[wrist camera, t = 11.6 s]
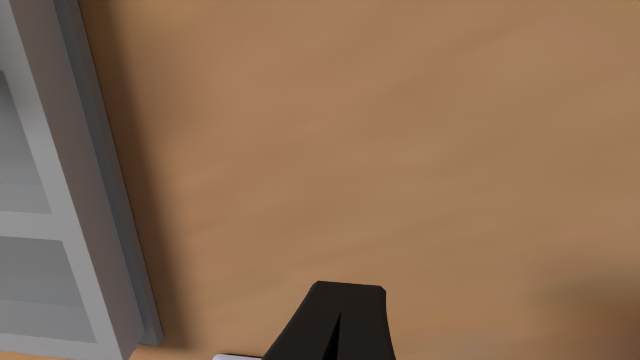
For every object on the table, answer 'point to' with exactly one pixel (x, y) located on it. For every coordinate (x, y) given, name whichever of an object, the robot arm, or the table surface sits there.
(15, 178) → the parts fixture tray
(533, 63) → the table surface
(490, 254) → the table surface
